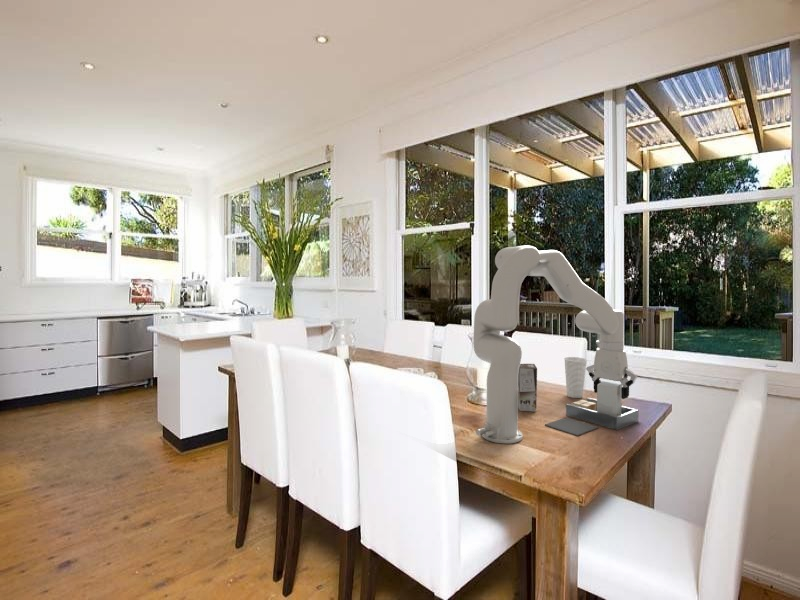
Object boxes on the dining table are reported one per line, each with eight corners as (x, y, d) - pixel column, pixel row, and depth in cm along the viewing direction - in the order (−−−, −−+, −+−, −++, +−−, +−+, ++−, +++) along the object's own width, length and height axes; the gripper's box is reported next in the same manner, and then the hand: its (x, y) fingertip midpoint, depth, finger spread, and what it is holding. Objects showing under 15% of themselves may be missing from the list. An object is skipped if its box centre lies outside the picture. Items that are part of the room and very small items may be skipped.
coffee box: (537, 412, 162) (537, 368, 161) (518, 411, 163) (519, 367, 162) (534, 404, 171) (535, 363, 170) (517, 403, 172) (517, 362, 171)
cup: (559, 395, 183) (560, 358, 182) (570, 392, 188) (571, 356, 187) (578, 400, 176) (579, 362, 175) (589, 396, 181) (590, 359, 180)
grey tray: (616, 430, 143) (617, 418, 143) (566, 415, 158) (566, 404, 158) (638, 421, 151) (638, 409, 151) (588, 407, 166) (588, 397, 166)
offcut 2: (586, 417, 156) (587, 406, 156) (580, 415, 158) (580, 404, 158) (595, 414, 159) (596, 403, 159) (589, 412, 161) (589, 401, 161)
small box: (602, 415, 158) (603, 379, 157) (621, 419, 154) (622, 382, 153) (596, 421, 151) (596, 384, 150) (616, 425, 147) (617, 387, 146)
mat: (577, 436, 138) (577, 435, 138) (544, 425, 148) (544, 424, 148) (598, 428, 145) (598, 426, 145) (566, 418, 155) (566, 417, 155)
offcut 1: (579, 415, 158) (579, 404, 158) (572, 413, 161) (572, 402, 160) (588, 412, 162) (588, 401, 162) (581, 410, 164) (582, 399, 164)
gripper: (581, 344, 156) (581, 391, 157) (631, 350, 142) (630, 403, 143) (593, 341, 160) (593, 387, 161) (642, 347, 146) (642, 398, 147)
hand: (610, 394), depth 152 cm, fingers open, 9 cm apart
